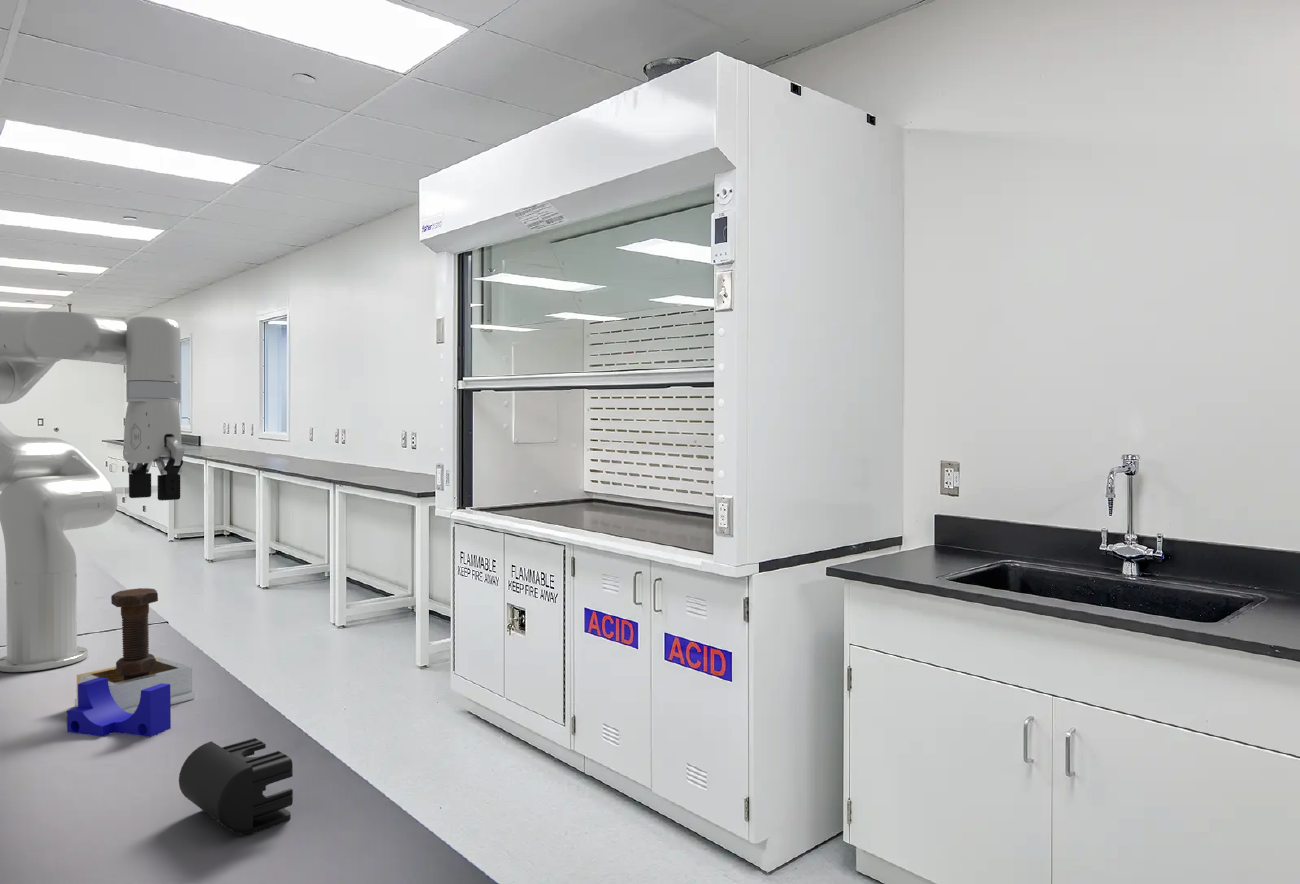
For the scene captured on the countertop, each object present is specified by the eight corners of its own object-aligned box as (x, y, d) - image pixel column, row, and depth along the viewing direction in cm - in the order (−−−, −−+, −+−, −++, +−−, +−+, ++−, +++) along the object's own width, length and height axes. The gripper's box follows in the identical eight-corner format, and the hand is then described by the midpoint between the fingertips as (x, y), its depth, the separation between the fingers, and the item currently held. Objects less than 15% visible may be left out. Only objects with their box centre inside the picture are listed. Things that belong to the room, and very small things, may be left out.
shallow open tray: (74, 706, 113) (74, 674, 112) (157, 685, 122) (157, 656, 122) (109, 721, 106) (109, 687, 106) (194, 698, 116) (194, 667, 116)
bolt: (133, 704, 110) (131, 597, 110) (104, 700, 112) (101, 595, 111) (167, 689, 116) (166, 588, 116) (139, 687, 117) (137, 586, 117)
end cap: (178, 817, 79) (177, 749, 79) (251, 792, 85) (250, 729, 85) (218, 850, 73) (218, 776, 73) (295, 821, 78) (294, 753, 78)
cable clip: (67, 733, 103) (66, 687, 102) (99, 721, 107) (99, 677, 107) (140, 742, 99) (139, 694, 99) (170, 729, 104) (170, 684, 104)
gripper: (104, 394, 131) (104, 498, 131) (154, 390, 121) (155, 502, 121) (153, 396, 137) (153, 495, 137) (204, 393, 127) (205, 499, 127)
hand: (154, 498), depth 129 cm, fingers open, 9 cm apart
